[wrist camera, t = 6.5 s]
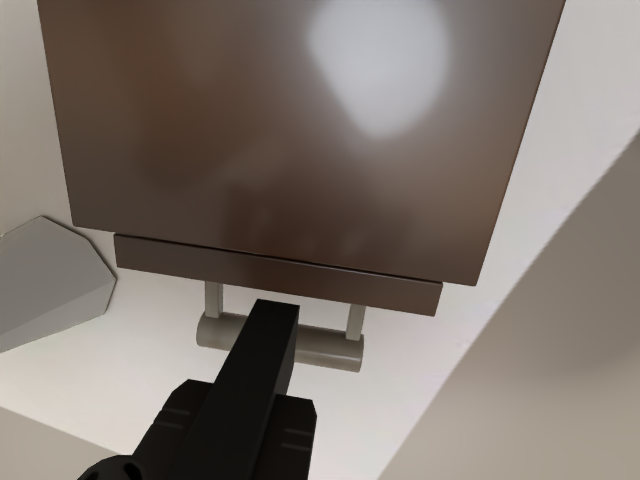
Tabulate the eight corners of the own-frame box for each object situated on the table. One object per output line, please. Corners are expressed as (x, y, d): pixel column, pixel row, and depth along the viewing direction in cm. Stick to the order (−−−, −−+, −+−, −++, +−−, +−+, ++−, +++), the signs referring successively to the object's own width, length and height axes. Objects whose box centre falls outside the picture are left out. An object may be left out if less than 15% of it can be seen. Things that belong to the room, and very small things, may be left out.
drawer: (391, 311, 21) (403, 431, 14) (207, 283, 22) (129, 383, 15) (478, -86, 14) (592, -254, 7) (204, -112, 15) (50, -289, 8)
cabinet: (426, 191, 19) (476, 288, 10) (202, 161, 20) (71, 227, 11) (509, -173, 14) (761, -612, 5) (197, -197, 14) (-66, -620, 6)
